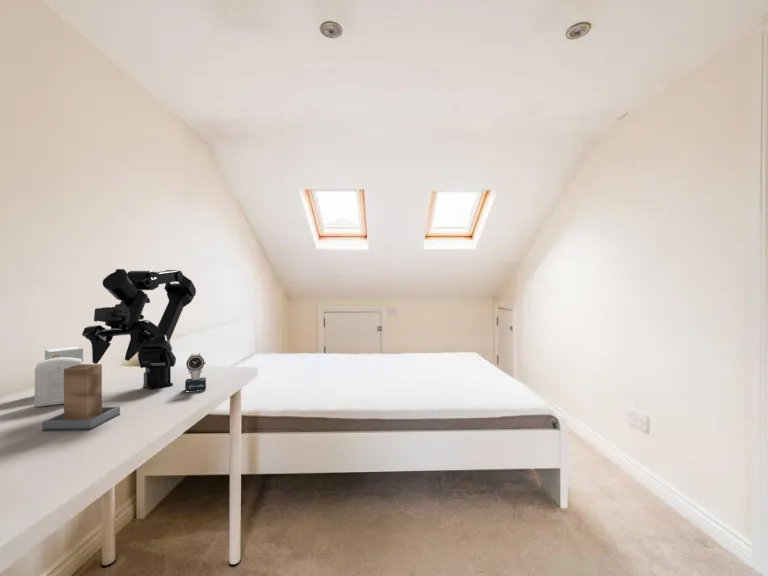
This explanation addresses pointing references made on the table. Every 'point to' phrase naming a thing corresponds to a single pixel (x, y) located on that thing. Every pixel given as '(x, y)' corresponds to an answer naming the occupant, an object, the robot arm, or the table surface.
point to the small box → (64, 353)
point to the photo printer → (52, 380)
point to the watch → (195, 373)
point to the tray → (79, 421)
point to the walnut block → (83, 392)
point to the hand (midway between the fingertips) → (110, 361)
